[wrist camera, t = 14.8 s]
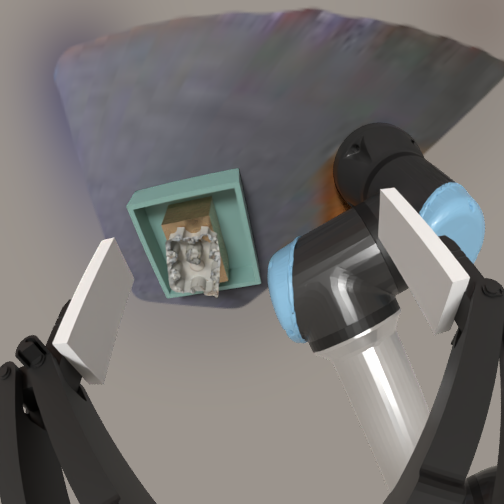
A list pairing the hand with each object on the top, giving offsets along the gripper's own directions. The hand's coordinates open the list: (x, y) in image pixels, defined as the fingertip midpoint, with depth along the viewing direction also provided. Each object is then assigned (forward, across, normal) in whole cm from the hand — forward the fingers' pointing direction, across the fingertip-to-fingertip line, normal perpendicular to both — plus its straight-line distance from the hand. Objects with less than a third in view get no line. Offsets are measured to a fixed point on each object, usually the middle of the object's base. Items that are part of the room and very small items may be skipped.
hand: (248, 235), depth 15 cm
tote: (+32, +10, +18) cm, 38 cm away
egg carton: (+25, +10, +18) cm, 33 cm away
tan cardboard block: (+31, +10, +18) cm, 37 cm away
